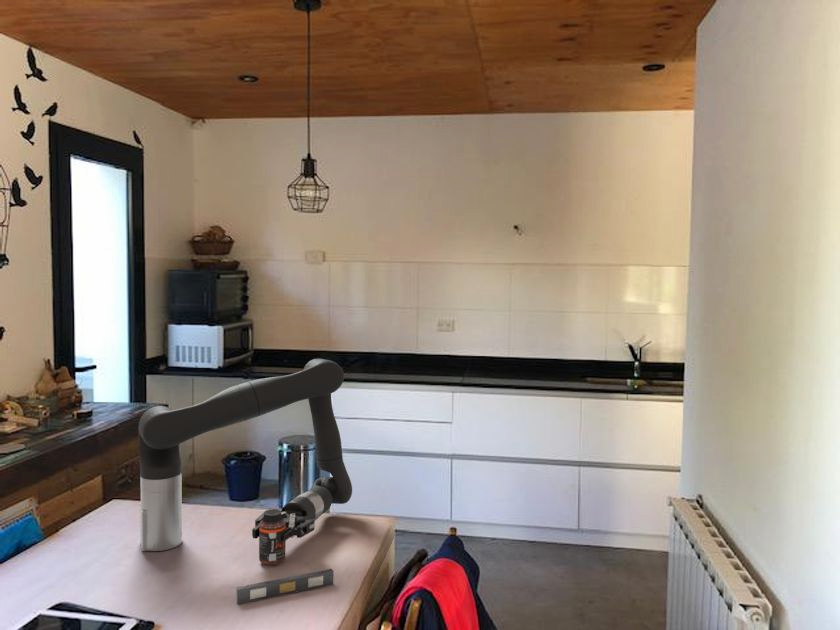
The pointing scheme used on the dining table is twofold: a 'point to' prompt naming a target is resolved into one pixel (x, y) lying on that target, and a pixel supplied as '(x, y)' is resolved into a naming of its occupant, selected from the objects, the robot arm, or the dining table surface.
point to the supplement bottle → (271, 538)
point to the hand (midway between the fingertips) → (266, 536)
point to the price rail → (284, 586)
